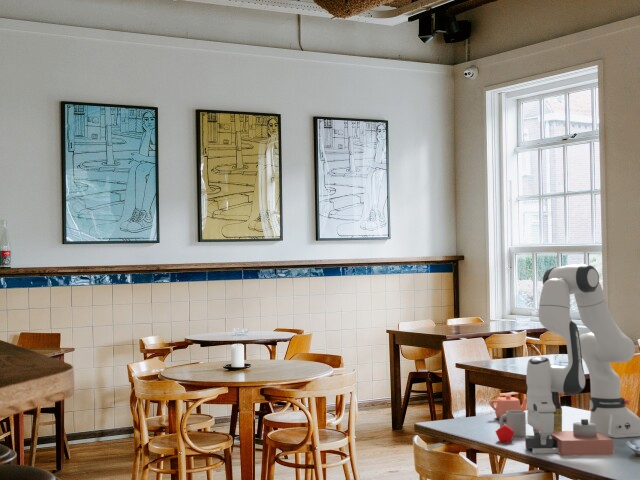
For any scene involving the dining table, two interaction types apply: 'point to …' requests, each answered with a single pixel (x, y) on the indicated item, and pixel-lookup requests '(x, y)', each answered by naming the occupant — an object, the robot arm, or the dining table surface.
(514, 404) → the teapot
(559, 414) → the sauce bottle
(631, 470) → the dining table surface
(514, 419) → the cup
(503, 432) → the red pentagonal block
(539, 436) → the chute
